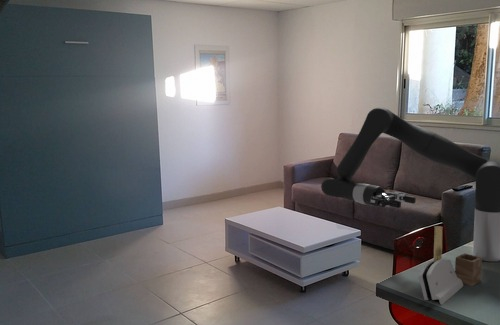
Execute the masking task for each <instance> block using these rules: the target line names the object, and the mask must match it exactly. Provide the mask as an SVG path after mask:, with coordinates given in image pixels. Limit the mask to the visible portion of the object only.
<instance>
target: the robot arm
mask: <svg viewBox="0 0 500 325" xmlns="http://www.w3.org/2000/svg"><path fill="white" fill-rule="evenodd" d="M381 134H385V135H388V136H390V137H392V138H394V139H397V140H399V141H400V142H402V143H403V144H405V145H406V146H407V147H408V148H409V149H411V150H412V151H414V152H415V153H417V154H418V155H420V156H422V157H424V158H426V159H427V160H430V161H432V162H434V163H436V164H438V165H443V166H446V167H449V168H452V169H455V170H458V171H459V172H463V173H464V174H466V175H468V176H469V177H471V178H473V179H474V180H475V193H474V194H475V195H474V221H473V222H474V223H473V224H474V225H473V244H472V245H473V247H472V255H473V256H477V257H481V258H482V261H485V262H500V163H499V162H496V161H493V160H490V159H488V158H485V157H483V156H481V155H477V154H475V153H472V152H471V151H468V150H467V149H465V147H462V146H461V145H459V144H457V143H455V142H453V141H451V140H450V139H448V138H446V137H444V136H443V135H440V134H438V133H437V132H434V131H431V130H429V129H427V128H425V127H422V126H419V125H417V124H413V123H411V122H409V121H407V120H405V119H404V118H402V117H400V116H398V115H397V114H395V113H394V112H392V111H391V110H390V109H388V108H385V107H376V108H375V107H374V108H372V109H371V110H369V112H368V113H367V115H366V117H365V120H364V121H363V124H362V126H361V128H360V131H359V133H358V135H357V136H356V138H355V140H354V142H353V143H352V145H350V148H348V151H347V152H346V153H345V155H344V156H343V157H342V159H341V161H340V162H339V163H338V166H336V173H337V174H338V177H337V178H333V177H327V178H326V179H324V180H323V181H322V183H321V186H320V188H321V191H322V193H323V194H324V195H326V196H329V197H334V198H339V199H340V198H342V199H346V200H348V201H351V202H355V203H359V204H361V205H367V206H370V207H375V208H378V207H380V208H385V207H388V208H389V207H392V208H396V209H401V208H402V203H409V204H416V202H417V200H416V197H415V196H411V195H408V193H407V192H401V191H396V190H395V191H394V190H393V191H385V190H384V188H383V187H382V186H379V185H374V184H368V183H360V182H353V181H352V180H353V178H354V175H356V173H357V171H358V170H359V168H360V167H361V166H362V163H363V162H364V160H365V158H366V156H367V154H368V152H369V151H370V148H371V147H372V146H373V144H374V143H375V142H376V140H377V139H378V138H379V137H380V136H381Z"/></svg>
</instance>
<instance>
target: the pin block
mask: <svg viewBox="0 0 500 325" xmlns="http://www.w3.org/2000/svg"><path fill="white" fill-rule="evenodd" d="M482 261H483V260H482V258H481V257H477V256H473V254H468V253H462V254H460V255H458V256H456V257H455V262H454V263H455V265H454V267H455V268H454V271H455V273H456V276H457V278H459V279H461V280H462V283H463V285H466V286H467V285H468V286H470V287H473V286H475V285H476V284H478V283H480V282H481V281H482V266H483V265H482V263H483V262H482Z"/></svg>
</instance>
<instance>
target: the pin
mask: <svg viewBox="0 0 500 325" xmlns="http://www.w3.org/2000/svg"><path fill="white" fill-rule="evenodd" d="M443 228H444V227H443V226H440V225H436V226H434V235H433V237H434V238H433V240H434V242H433V261H435V260H441V259H443V257H442V256H443Z"/></svg>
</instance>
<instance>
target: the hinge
mask: <svg viewBox="0 0 500 325" xmlns="http://www.w3.org/2000/svg"><path fill="white" fill-rule="evenodd" d="M418 279H419V284H420V287H421V291H422V295H423V299H424V301H429V300H430V299H431V300H432V301H435V300H438V302H439V304H440V305H444V304H445V303H446V302H447V301H448V300H449V299H450V298H452V296H454V295H455V294H456V293H457V292H458V291H460V290H461V289H462V288H463V287H464V283H462V280H461V279H459V278H457V276H456V273H455V268H454V266H453V264H452V260H450V259H443V258H442V259H441V260H435V261H434V260H433V261H429V262H427V263H426V264H425V265H424V266H423V267H422V269H421V270H420V272H419V275H418Z"/></svg>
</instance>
